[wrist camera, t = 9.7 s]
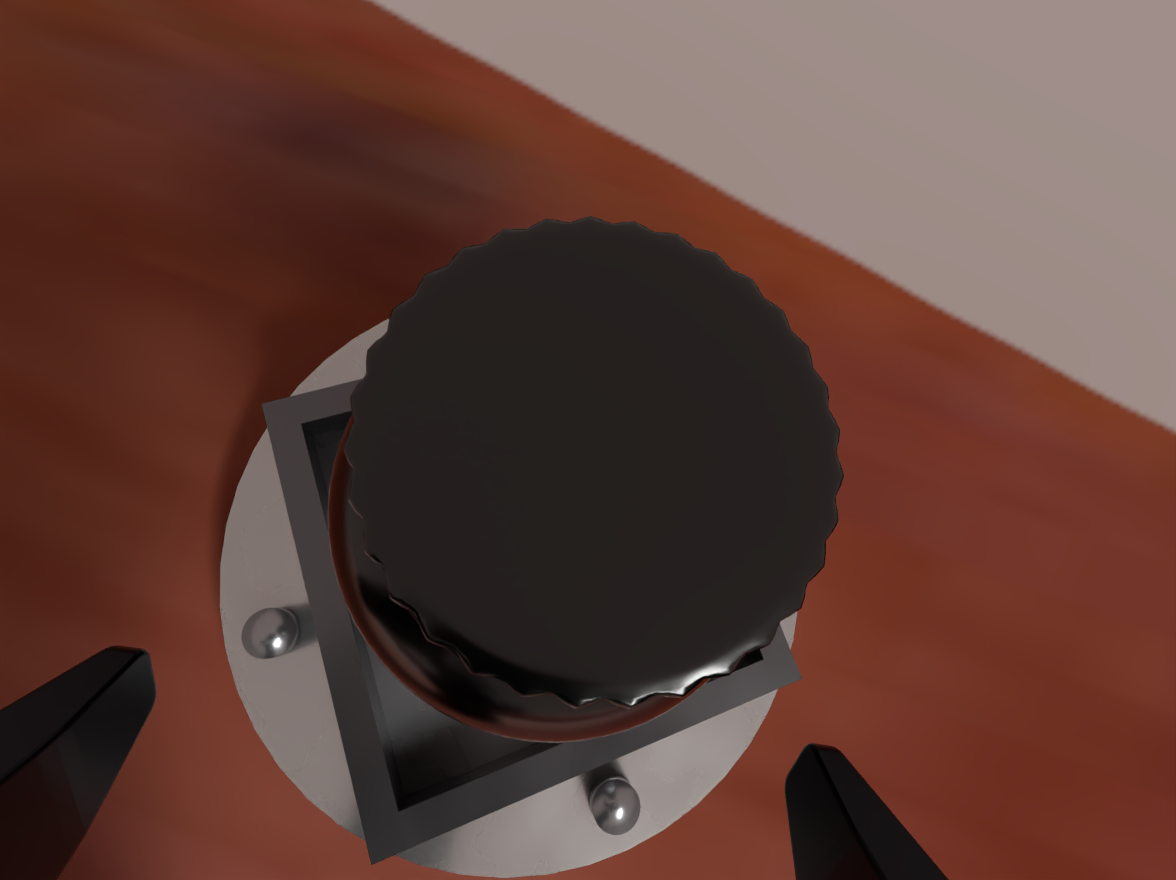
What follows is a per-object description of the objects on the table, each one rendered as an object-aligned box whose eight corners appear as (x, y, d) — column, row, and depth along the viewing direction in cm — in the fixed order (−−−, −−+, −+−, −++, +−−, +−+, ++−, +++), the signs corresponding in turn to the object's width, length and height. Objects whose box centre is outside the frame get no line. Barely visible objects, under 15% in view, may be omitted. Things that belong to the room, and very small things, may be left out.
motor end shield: (316, 967, 15) (282, 1041, 12) (191, 380, 18) (142, 343, 16) (855, 718, 19) (914, 735, 16) (672, 267, 22) (696, 222, 19)
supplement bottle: (385, 451, 17) (185, 137, 6) (616, 412, 19) (825, 98, 7) (423, 708, 16) (251, 980, 4) (673, 643, 17) (1054, 714, 6)
